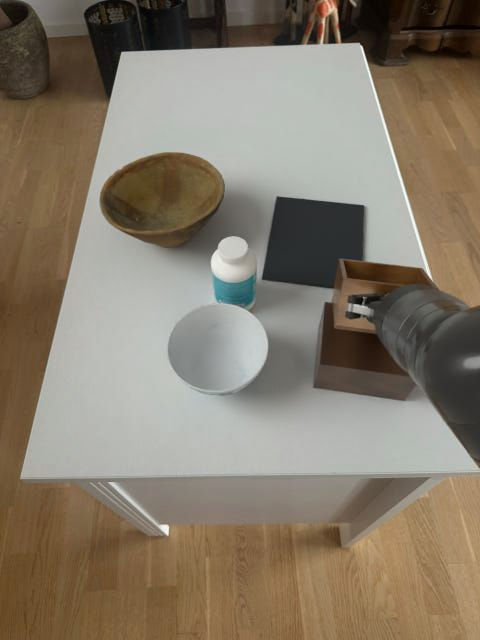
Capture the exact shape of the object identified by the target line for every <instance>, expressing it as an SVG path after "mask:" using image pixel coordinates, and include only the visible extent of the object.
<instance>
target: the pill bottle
mask: <svg viewBox="0 0 480 640" xmlns="http://www.w3.org/2000/svg"><path fill="white" fill-rule="evenodd" d="M210 270H211V276H212V279H211V280H212V286H213V294H214V295H213V296H214V301H215V303H225V304H232V305H236V306H239V307H241V308H243V309H245V310H247V311H250V310H251V309H252V308H253V307H254V305H255V304H256V302H257V285H258V283H257V282H258V281H257V279H258V272H257V271H258V259H257V256H256V254H255V252H254V251H253V250H252V249H251V248H250V247H249V243H248V242H247V241H246V240H245V239H243V238H242V237H240V236H235V235H234V236H233V235H231V236H228V237H225V238H223V239H222V240H221V241H219V243H218V246H217V249H216V250H215V251H214V252H213V254H212V256H211V258H210Z"/></svg>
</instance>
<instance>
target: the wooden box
mask: <svg viewBox="0 0 480 640" xmlns="http://www.w3.org/2000/svg"><path fill="white" fill-rule="evenodd" d="M409 284H425V285H429V286H432V287H434V288H436V289H438V290H440V289H439V287H438V286H437V285H436V283H435V282H434V281H433V279H432V278H431V277H430V276H429V275H428V273H427V272H426V271H425V270H424V268H423V267H416V266H406V265H399V264H389V263H381V262H373V261H364V260H363V261H357V260H348V259H339V262H338V268H337V274H336V280H335V285H334V288H333V290H332V291H333V292H332V296H331V297H332V298H331V303H332V310H333V320H334V328H336V329H343V330H351V331H358V332H366V333H373V334H377V332H376V329H375V325H374V324H373V323H370V322H368V321H367V319H366V317H364V319H360V318H357V319H348V318H346V317H345V314H346V306H347V301H348V295H352V294H353V295H359V294H373V293H378V294H379V295H384V292H390V293H391V292H392V291H394V290H395V289H397V288H399V287H402V286H405V285H409Z"/></svg>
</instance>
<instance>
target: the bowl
mask: <svg viewBox="0 0 480 640" xmlns="http://www.w3.org/2000/svg"><path fill="white" fill-rule="evenodd" d="M225 187H226V184H225V180H224V178H223V174H221V172H220V171H219V170H218V169H217V168H216V167H215V165H213V164H211V163H210V162H209V161H208V160H206V159H204V158H202V157H200V156H198V155H194V154H190V153H186V152H178V151H175V152H174V151H172V152H171V151H165V152H163V151H162V152H158V153H154V154H151V155H147V156H145V157H140V158H137V159H136V160H134V161H132V162H130V163H128V164H125V165H123V166H122V168H119V169H117V170H115V172H113V173H112V175H110V176H109V177H108V178H107V179H106V180H105V181H104V183H103V185H102V187H101V190H100V194H99V209H100V211H101V214H102V216H103V217H104V219H105V220H106V221H107V223H108V224H110V225H111V226H112V227H113V228H115V229H117V230H118V231H120V232H122V233H124V234H126V235H127V236H130V237H132V238H135V239H137V240H139V241H141V242H143V243H148V244H151V245H154V246H158V247H162V248H174V247H178V246H179V247H180V246H181V245H183V244H184V243H186V242H187V241H188V240H189V239H190V238H191V239H192V238H193V236H195V235H196V234H197V233H199V232H200V230H202V229H203V228H204V227H205V226H206V225H207V223H208V222H209V221H211V219H212V218H213V217H214V216H215V215H216V213H217V212H218V210H219V208H220V206H221V204H222V202H223V200H224V197H225V192H226V191H225V190H226V188H225Z"/></svg>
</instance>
